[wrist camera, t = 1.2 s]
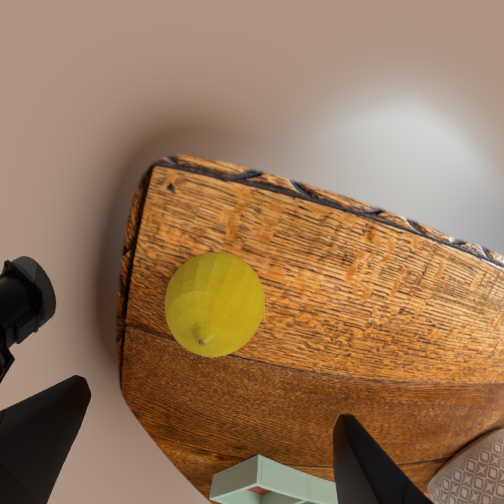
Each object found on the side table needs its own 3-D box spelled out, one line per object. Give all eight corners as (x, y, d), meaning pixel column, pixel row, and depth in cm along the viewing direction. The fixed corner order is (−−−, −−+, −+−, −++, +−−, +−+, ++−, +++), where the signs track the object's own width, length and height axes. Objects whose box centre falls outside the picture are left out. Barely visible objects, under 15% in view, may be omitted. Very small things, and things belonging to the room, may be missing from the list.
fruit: (173, 251, 19) (120, 306, 12) (249, 225, 19) (234, 270, 11) (204, 319, 21) (175, 395, 13) (276, 299, 20) (278, 376, 12)
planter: (432, 492, 32) (447, 543, 19) (415, 471, 28) (436, 542, 15) (508, 442, 28) (533, 488, 14) (514, 404, 24) (552, 463, 10)
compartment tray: (213, 474, 29) (208, 498, 25) (258, 453, 26) (256, 483, 22) (331, 510, 32) (333, 528, 28) (373, 492, 30) (377, 511, 26)
